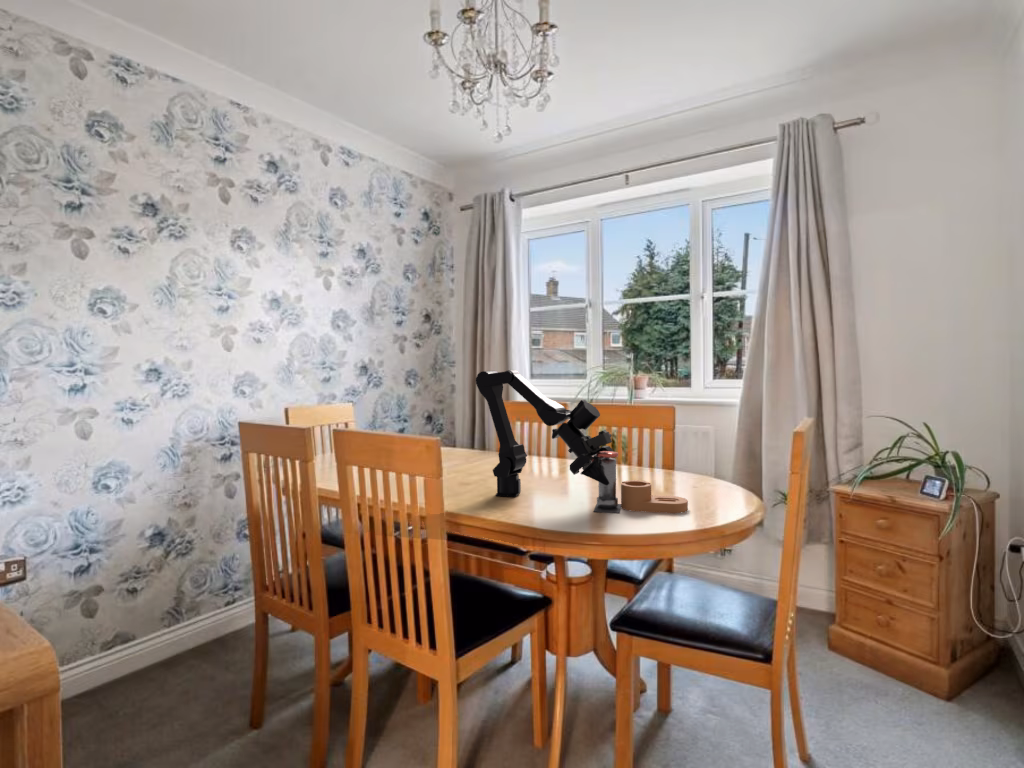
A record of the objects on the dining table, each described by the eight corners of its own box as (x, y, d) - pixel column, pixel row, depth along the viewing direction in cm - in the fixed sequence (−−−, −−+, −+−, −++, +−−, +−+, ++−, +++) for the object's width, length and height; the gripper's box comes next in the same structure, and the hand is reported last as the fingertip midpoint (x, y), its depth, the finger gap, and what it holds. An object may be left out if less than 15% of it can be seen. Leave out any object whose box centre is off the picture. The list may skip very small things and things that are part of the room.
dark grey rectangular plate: (593, 511, 154) (593, 511, 154) (596, 503, 163) (596, 502, 163) (619, 513, 153) (619, 512, 153) (621, 504, 161) (621, 504, 161)
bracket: (620, 511, 156) (620, 486, 155) (622, 503, 164) (621, 479, 163) (688, 514, 151) (688, 489, 151) (686, 506, 159) (686, 482, 159)
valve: (599, 508, 155) (599, 455, 154) (594, 502, 161) (594, 451, 160) (620, 508, 155) (620, 454, 154) (614, 502, 161) (615, 450, 160)
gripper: (580, 425, 151) (618, 470, 146) (607, 418, 167) (643, 458, 161) (553, 452, 155) (590, 496, 150) (582, 442, 171) (616, 482, 166)
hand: (611, 482), depth 157 cm, fingers closed on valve, 5 cm apart
